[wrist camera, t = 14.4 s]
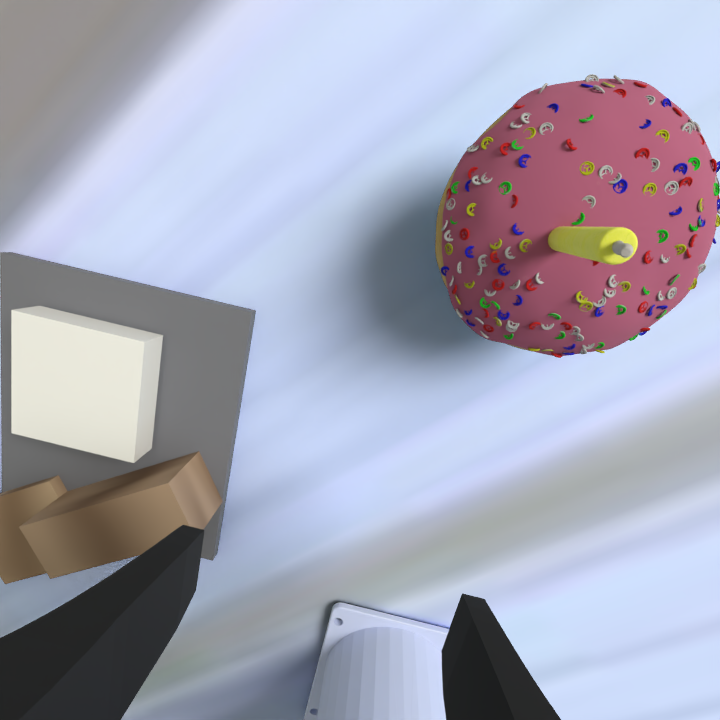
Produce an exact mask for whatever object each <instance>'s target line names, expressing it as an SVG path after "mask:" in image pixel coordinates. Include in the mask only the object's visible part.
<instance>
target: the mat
mask: <svg viewBox="0 0 720 720" xmlns="http://www.w3.org/2000/svg"><path fill="white" fill-rule="evenodd" d="M0 278H1V408H2V493H3V492H6V491H9V490H12V489H16V488H19V487H22V486H25V485H28V484H32V483H35V482H38V481H41V480H44V479H48V478H51V477H54V476H57V475H59V477H60V479H61V480H62V482H63V484H64V486H65V487H66V489H67V491H70V490H73V489H76V488H80V487H83V486H86V485H89V484H93V483H96V482H99V481H103V480H106V479H109V478H112V477H116V476H119V475H122V474H126V473H129V472H132V471H135V470H139V469H142V468H145V467H149V466H152V465H155V464H159V463H162V462H165V461H168V460H172V459H175V458H178V457H182V456H185V455H188V454H191V453H195V452H198V451H199V452H200V454H201V456H202V458H203V461H204V463H205V465H206V467H207V469H208V471H209V473H210V475H211V477H212V480H213V482H214V484H215V486H216V488H217V490H218V492H219V494H220V496H221V499H222V501H223V502H222V503H221V505H220V506H219V508H218V509H217V510H216V512H215V513H214V515H213V516H212V518H211V519H210V521H209V522H208V524H207V525H206V527H205V528H204V530H205V531H204V538H203V545H202V552H201V558H205V559H209V560H213V559H214V557H215V556H216V554H217V551H218V545H219V538H220V532H221V526H222V520H223V513H224V507H225V501H226V494H227V488H228V482H229V476H230V469H231V463H232V457H233V451H234V444H235V438H236V432H237V425H238V419H239V413H240V407H241V400H242V394H243V388H244V381H245V375H246V369H247V363H248V356H249V350H250V344H251V338H252V331H253V325H254V319H255V312H256V311H255V310H251V309H247V308H243V307H238V306H234V305H230V304H226V303H222V302H218V301H213V300H209V299H205V298H201V297H197V296H192V295H188V294H184V293H180V292H176V291H171V290H167V289H163V288H159V287H155V286H150V285H146V284H142V283H138V282H134V281H129V280H125V279H121V278H117V277H113V276H108V275H104V274H100V273H96V272H92V271H88V270H83V269H79V268H75V267H71V266H67V265H62V264H58V263H54V262H50V261H46V260H41V259H37V258H33V257H29V256H25V255H20V254H16V253H12V252H0ZM34 306H43V307H48V308H52V309H56V310H60V311H64V312H68V313H73V314H77V315H81V316H85V317H89V318H93V319H98V320H102V321H106V322H110V323H114V324H118V325H122V326H127V327H131V328H135V329H139V330H143V331H147V332H152V333H156V334H160V335H163V341H162V351H161V361H160V371H159V381H158V391H157V401H156V411H155V421H154V431H153V441H152V449H151V450H149V451H148V452H147V453H146V454H144V455H143V456H142V457H141V458H140V459H138V460H137V461H136V462H135V463H131V462H127V461H123V460H119V459H115V458H111V457H107V456H103V455H99V454H94V453H90V452H86V451H82V450H78V449H74V448H70V447H66V446H62V445H58V444H54V443H50V442H45V441H41V440H37V439H33V438H29V437H25V436H21V435H17V434H13V433H11V310H14V309H21V308H27V307H34Z"/></svg>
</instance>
